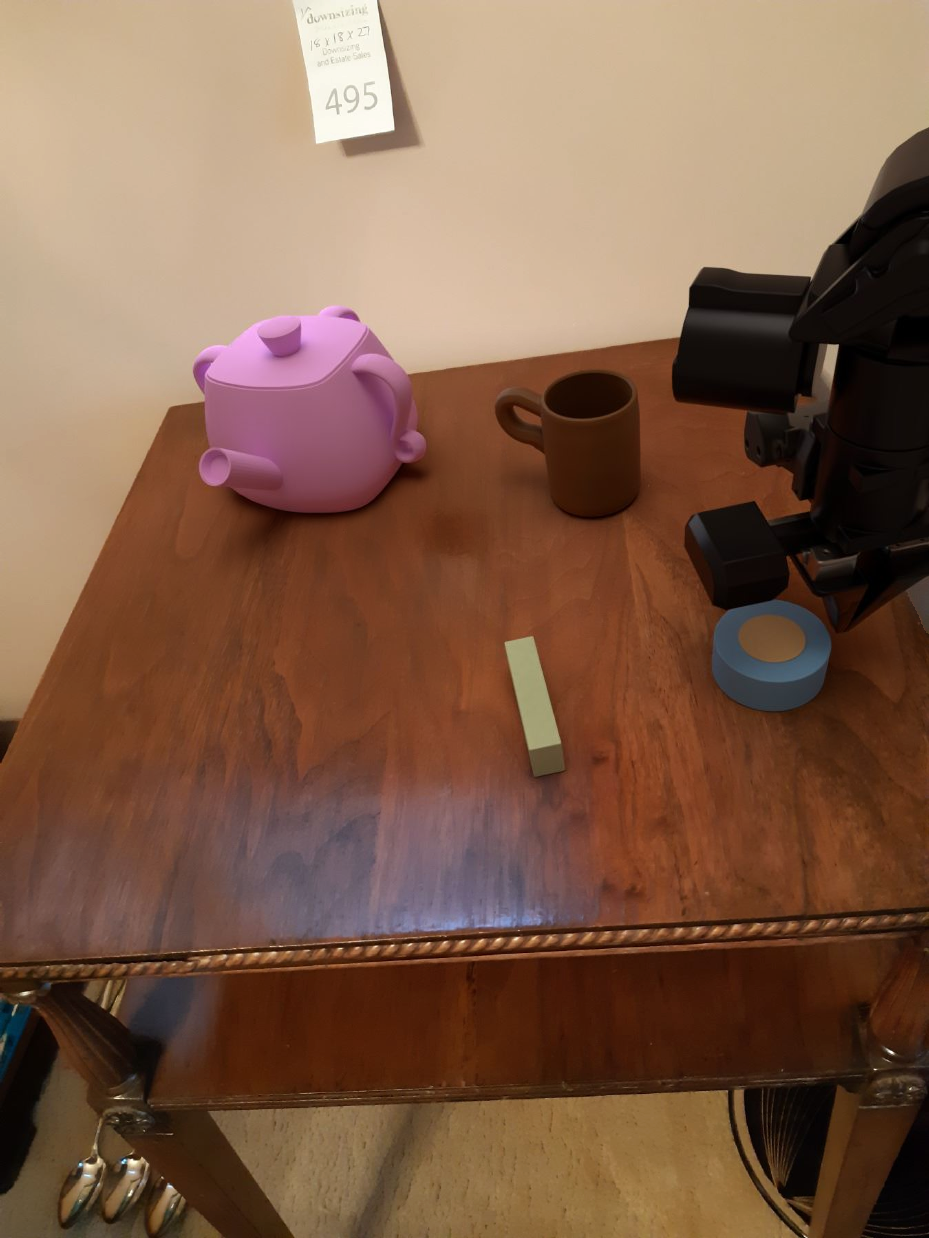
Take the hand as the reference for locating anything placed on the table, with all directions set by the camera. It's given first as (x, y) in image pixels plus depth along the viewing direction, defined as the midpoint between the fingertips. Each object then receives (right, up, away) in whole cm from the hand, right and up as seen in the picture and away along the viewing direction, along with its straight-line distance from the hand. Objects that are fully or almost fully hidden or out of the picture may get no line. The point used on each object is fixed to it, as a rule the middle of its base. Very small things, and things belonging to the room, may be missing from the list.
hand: (838, 627), depth 53 cm
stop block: (-19, -6, +2) cm, 20 cm away
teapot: (-37, +14, +26) cm, 48 cm away
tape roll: (-4, -3, +2) cm, 5 cm away
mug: (-15, +12, +18) cm, 26 cm away
